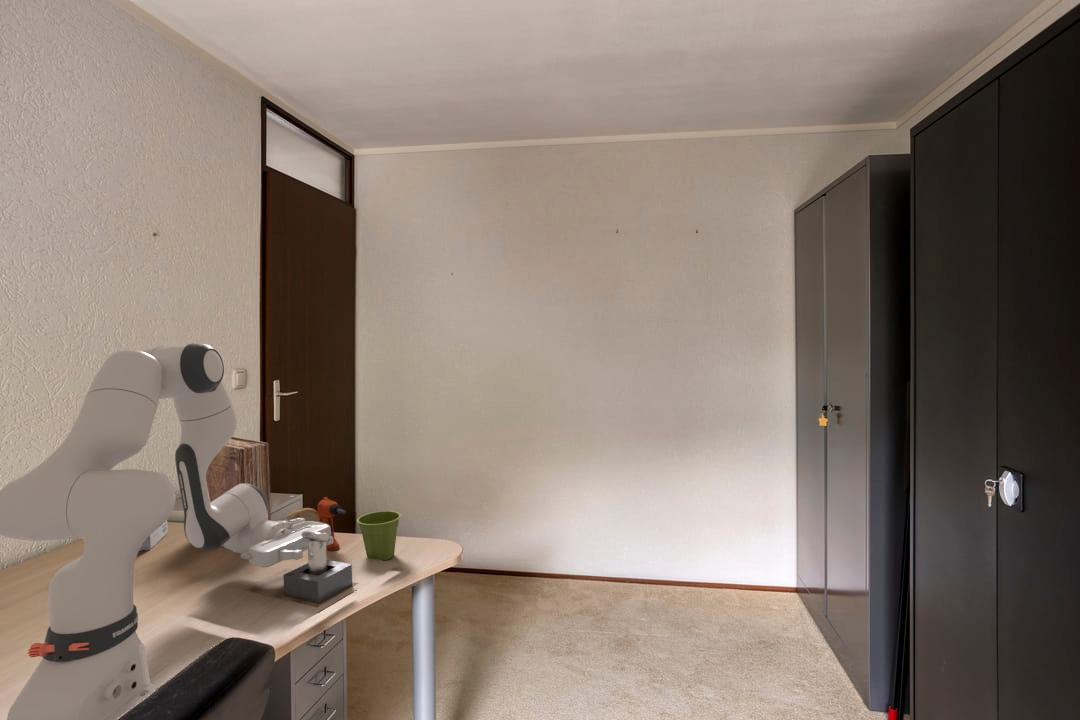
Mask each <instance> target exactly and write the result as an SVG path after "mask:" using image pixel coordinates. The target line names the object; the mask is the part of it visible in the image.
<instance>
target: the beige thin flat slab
mask: <svg viewBox="0 0 1080 720" xmlns="http://www.w3.org/2000/svg"><path fill="white" fill-rule="evenodd" d="M292 570H293V569H290V568H284V569H282V570H279V571H277V572H275V573H273V574H271V575H268V576H266V577H264V578H262V579H260V580H258V581H256V582H253V583H251V584H250V585H247V586H245V587H242V588H241V590H242V591H247V592H250V593H255V594H259V595H263V596H267V597H272V598H277V599H280V600H283V601H289V602H292V603H297V604H302V605H306V606H311V607H316V608H318V607H321V606H322V605H323V604H325V603H327V602H329V601H330V600H332V599H334V598H336V597H337V596H339V595H340V594H342V593H344V592H346V591H348V590H349V589H352V588H354V587H355V586H356V585H358V584H359V583H358V582H353V581H352V585H351V586H349V587H348V588H346V589H344V590H342V591H341V592H339V593H337V594H335V595H334V596H332V597H330V598H328V599H327V600H325V601H323V602H322V603H320V604H316V603H312V602H308V601H303V600H299V599H295V598H290V597H286V596H284V578H283V575H284V574H286V573H288V572H290V571H292ZM354 591H355V592H356V591H357V589H355V590H353V591H352V592H350V593H349V594H347V595H345V596H343V597H342V598H340V599H338V600H337V601H334V602H333V603H331V604H329V605H328V606H326V607H325V608H323V609H321V610H319V611H317V613H318V614H319V613H321V612H322V611H324V610H326V609H328V608H329V607H331V606H333V605H334V604H336V603H338V602H339V601H341V600H342V599H344V598H346V597H348V596H350V595H351V594H352V593H355V592H354Z"/></svg>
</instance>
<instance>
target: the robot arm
mask: <svg viewBox="0 0 1080 720" xmlns="http://www.w3.org/2000/svg"><path fill="white" fill-rule="evenodd" d="M224 373H225V366H224V361H223V358H222V357H221V355H220V353H219V351H217V350H216V349H215V348H213V347H212V346H211V345H209V344H206V343H194V342H193V343H189V344H184V345H183V344H181V345H180V344H179V345H176V344H175V345H166V346H165V345H161V346H160V345H159V346H154V347H148V348H145V349H141V350H138V349H137V350H136V349H122V350H118V351H117V352H114V353H112V354H111V355H109V356H108V357H107V358H106V359H105V361H104V362H103V364H102V365H101V366H100V368H99V369H98V371H97V373H96V375H95V377H94V378H93V381H92V382H91V384H90V386H89V388H88V391H87V393H86V395H85V398H84V400H83V404H81V405H82V406H81V408H80V410H79V413H78V415H77V418H76V420H75V422H74V424H73V426H72V427H71V429H70V432H69V433H68V435H67V436H66V438H65V439H64V440H63V441H62V443H61V444H60V445H59V447H57V449H55V451H53V453H51V454H50V456H48V457H47V458H46V459H45V460H43V462H42V463H39V465H37V466H36V467H34V468H33V469H31V470H30V471H29V472H27V473H26V474H23V475H22V476H20V477H18V478H16V479H14V480H11V481H9V482H8V483H7V484H5V485H4V486H3V487H2V488H1V489H0V536H2V537H4V538H7V539H13V540H20V541H31V542H32V541H33V542H47V541H62V540H76V539H81V540H83V544H84V546H83V547H84V548H83V552H82V555H81V556H80V557H78V558H76V559H74V560H72V561H70V562H68V563H67V564H66V565H63V567H61V568H60V569H59V570H58V571H57V572H56V573H55V575H54V576H53V577H52V579H51V581H50V583H49V585H48V588H47V589H48V604H49V605H48V606H49V609H48V610H49V623H50V624H49V626H48V628H47V630H46V635H45V637H44V642H43V643H41V642H34V643H32V644H31V645H30V647H29V649H28V653H27V654H28V657H30V658H36V657H42V658H41V660H40V662H39V663H38V665H37V666H36V668H35V670H33V672H32V674H31V676H30V678H28V679H27V682H26V684H25V685H24V687H23V688H22V689H21V691H20V692H19V694H18V695H17V696H16V699H15V700H14V701H13V703H12V705H11V706H10V707H9V710H8V712H7V718H6V720H117V718H118V717H120V716H121V715H122V714H124V713H125V712H127V711H128V710H130V709H131V708H132V707H134V706H135V705H136V704H137V703H139V702H140V701H142V700H143V699H144V698H146V697H147V696H148V695H149V694H151V693H152V692H153V691H154V690H156V689H157V690H158V688H157V685H156V684H154V683H152V682H151V678H150V672H149V665H148V659H147V653H146V648H145V645H144V644H143V643H142V642H141V639H140V638H139V636H138V633H137V629H138V627H139V625H138V620H139V613H138V609H137V606H136V605H135V604H134V569H135V564H136V559H137V557H138V554H139V552H140V551H139V550H140V548H141V546H142V544H143V543H144V542H145V540H146V539H147V538H148V537H149V536H150V535H151V534H152V533H153V532H154V531H155V530H156V529H158V528H159V527H160V526H161V525H163V524H164V523H165V522H166V520H167V521H168V519H169V518H170V516H171V514H172V513H173V510H174V509H175V506H176V499H177V497H176V496H177V495H176V489H175V486H174V484H173V483H172V481H171V480H170V478H169V477H168V476H167V475H166V474H163V473H164V472H163V473H159V472H160V471H153V470H152V471H151V470H146V469H145V470H144V469H134V468H131V469H130V468H126V469H113V468H115V466H117V465H118V464H120V463H122V462H124V461H125V460H128V459H129V458H132V457H134V456H135V455H137V454H138V453H140V452H141V451H142V450H143V449H144V447H145V446H146V444H147V442H148V440H149V437H150V433H151V429H152V427H153V423H154V419H155V415H156V413H157V409H158V406H159V402H160V400H162V399H163V400H164V399H172V400H173V403H174V408H175V411H176V414H177V417H178V420H179V423H180V430H181V431H180V432H181V435H180V441H179V445H178V447H177V448H176V451H175V455H174V456H175V458H174V461H175V469H176V475H177V481H178V485H179V492H180V496H181V504H182V509H183V515H184V516H183V518H184V519H183V531H184V535H185V537H186V539H187V541H188V543H189V544H190V545H191V546H192V547H193V548H195V549H197V550H201V551H216V550H218V549H220V548H221V547H224V548H225V549H226V550H229V551H230V552H234V553H237V554H240V558H241V559H244V560H248V561H249V563H250V564H251V565H254V566H256V567H260V568H269V567H272V566H274V565H276V564H279V563H280V562H283V561H289V560H290V561H291V560H295V561H298V560H300V559H302V558H303V557H304V552H305V551H308V540H310V539H304V538H302V536H301V535H302V532H303V531H312V532H318V533H325V534H330V535H331V528H330V526H329V525H328V524H325V523H322V522H321V521H320V522H321V523H320V522H314V521H305V519H304V518H297V519H292V520H287V519H286V520H287V521H286V520H276V521H275V520H271V521H269V520H268V518H269V507H268V500H267V497H266V495H265V493H264V492H263V491H262V490H261V489H259V488H258V487H256V486H254V485H251V484H248V483H240V484H238V485H237V486H235V487H233V488H232V489H230V490H229V491H227V492H225V493H224V494H223V495H221V496H220V497H218V498H217V499H215V500H214V501H212V502H210V499H209V493H208V487H207V482H206V472H207V469H208V467H209V465H210V463H211V462H212V460H213V459H214V457H215V456H216V455H217V454H218V452H219V451H220V450H221V449H222V448H223V447H224V446H225V445H226V444H227V443H228V442H229V440H230V439H231V438H232V437H234V434H235V432H236V429H237V424H238V422H237V415H236V411H235V408H234V405H233V403H232V399H231V397H230V395H229V392H228V390H227V388H226V386H225V384H224V382H223V378H224ZM331 544H333V537H331V539H330V541H329V542H326V545H327V546H329V545H331Z"/></svg>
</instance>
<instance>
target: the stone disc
mask: <svg viewBox="0 0 1080 720" xmlns="http://www.w3.org/2000/svg"><path fill="white" fill-rule="evenodd" d="M297 518H304V519H305V521H314V522H320V523H322V521H321V517H320V516H319V515H318V511H317V510H316V509H315V508H310V507H304V508H299V509H295V510H293V511H291V512H290V513H289V514H288V516H287V518H286V520H285V521H287V520H292V519H297Z"/></svg>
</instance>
